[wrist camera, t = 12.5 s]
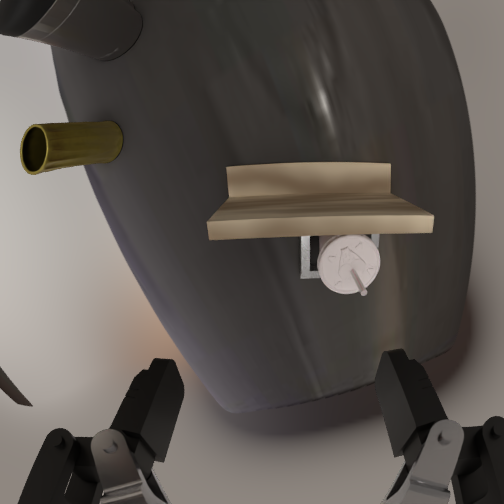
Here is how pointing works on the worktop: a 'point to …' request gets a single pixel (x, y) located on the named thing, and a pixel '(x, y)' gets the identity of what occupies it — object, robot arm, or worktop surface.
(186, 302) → the worktop surface
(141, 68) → the worktop surface
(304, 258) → the white u-shaped frame
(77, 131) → the vase
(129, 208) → the worktop surface
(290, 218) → the wall board
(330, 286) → the smoothie
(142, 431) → the robot arm
